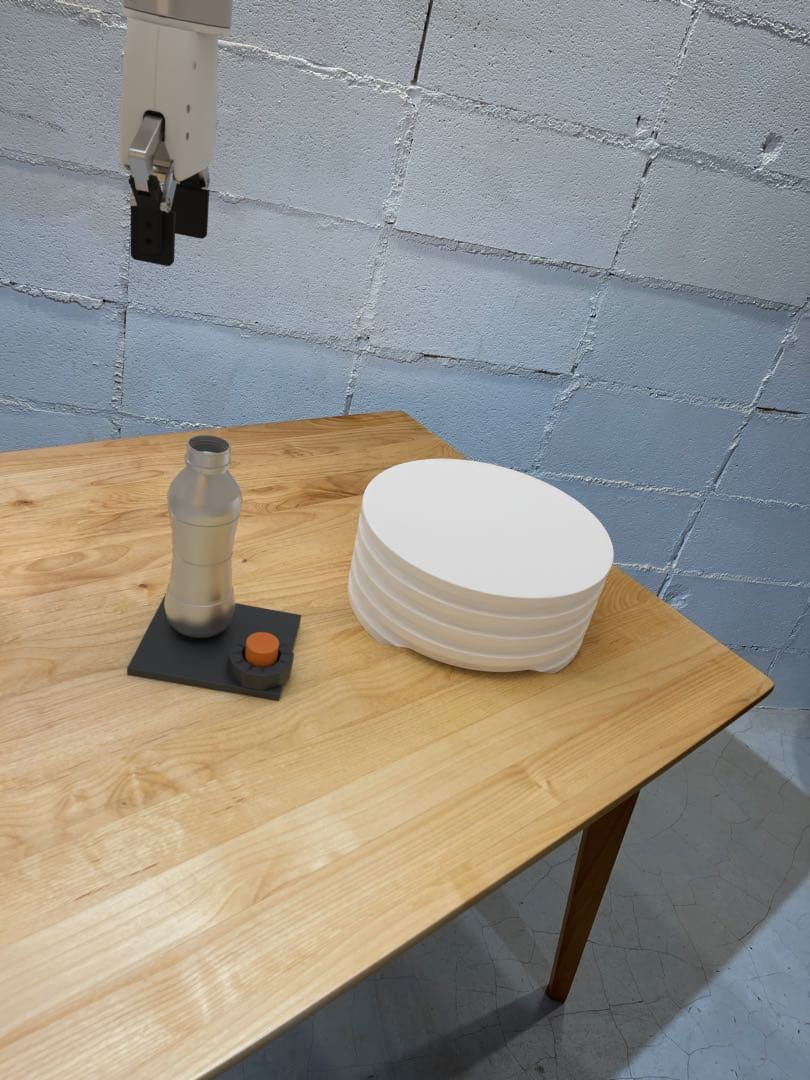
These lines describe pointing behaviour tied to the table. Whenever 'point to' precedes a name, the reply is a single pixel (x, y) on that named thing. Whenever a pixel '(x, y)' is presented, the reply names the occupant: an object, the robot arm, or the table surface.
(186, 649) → the scale
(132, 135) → the robot arm
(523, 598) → the plate stack
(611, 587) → the table surface
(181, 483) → the plastic bottle
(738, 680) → the table surface
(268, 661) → the button
